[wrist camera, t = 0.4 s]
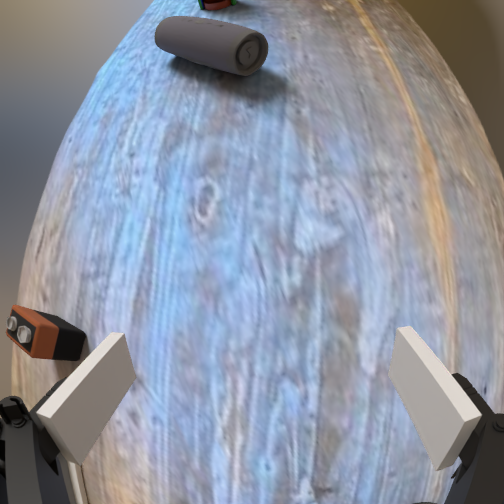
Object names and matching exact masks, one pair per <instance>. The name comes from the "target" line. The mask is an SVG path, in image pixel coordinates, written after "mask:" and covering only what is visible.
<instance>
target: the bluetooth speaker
mask: <svg viewBox="0 0 504 504" xmlns="http://www.w3.org/2000/svg"><path fill="white" fill-rule="evenodd" d="M155 43H156V45H157V46H158V47H159V48H160V49H162V50H164V51H166V52H168V53H171V54H174V55H176V56H179V57H182V58H185V59H187V60H189V61H192V62H195V63H198V64H201V65H205V66H208V67H211V68H213V69H217V70H222V71H226V72H230V73H233V74H238V75H242V76H249V75H251V74H252V73H254V72H255V71H257V70H258V69H259V68H260V67H261V66H262V65H263V63H264V62H265V60H266V57H267V54H268V43H267V40H266V38H265V37H264V35H262V34H261V33H259V32H257V31H254V30H252V29H249V28H246V27H242V26H239V25H235V24H231V23H227V22H223V21H218V20H213V19H207V18H199V17H188V16H173V17H168V18H166V19H164V20H163V21H161V22H160V23H159V25H158V26H157V28H156V31H155Z"/></svg>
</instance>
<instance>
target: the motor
mask: <svg viewBox="0 0 504 504" xmlns="http://www.w3.org/2000/svg"><path fill="white" fill-rule="evenodd" d="M198 2H199V5H200V9H201V10H202V9H203V8H204V6H205V9H206V10H218V9H222V8H226V7H228V6H230V5H231V4H232V5H235V4H236V3H237V1H236V0H198Z"/></svg>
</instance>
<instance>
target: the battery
mask: <svg viewBox="0 0 504 504" xmlns="http://www.w3.org/2000/svg"><path fill="white" fill-rule="evenodd" d="M6 325H7V331H6V334H7V336H8V337H9V338H10V339H11V340H12V341H13V342H15V343H16V344H17V345H18V346H19V347H20V348H21V349H22V350H24V351H25V352H26V353H27V354H28V355H29V356H31V357H32V358H40V359H53V360H68V361H78V360H79V358H80V354H81V350H82V346H83V342H84V339H85V333H84V332H83V331H82V330H80V329H78V328H76V327H75V326H73V325H71V324H70V323H68V322H66V321H65V320H63V319H61V318H60V317H58V316H55V315H51V314H47V313H43V312H39V311H36V310H32V309H29V308H25V307H22V306H18V305H13V307H12V310H11V314H10V317H8V318H7V321H6Z"/></svg>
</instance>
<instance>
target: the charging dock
mask: <svg viewBox="0 0 504 504" xmlns="http://www.w3.org/2000/svg"><path fill="white" fill-rule="evenodd" d="M57 457H58V459H59V461H60V464H61V469H62V473H63V477H64V482H65V485H66V489H67V493H68V496H69V500H70V503H71V504H88V501H87V496H86V492H85V487H84V483H83V478H82V472H81V467H80V466H79V465H77V464H74V463H72V462H69V461H67V460H66V459H65V458H64V456H63V455H62V453H61V452H59V454H58V455H57Z"/></svg>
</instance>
